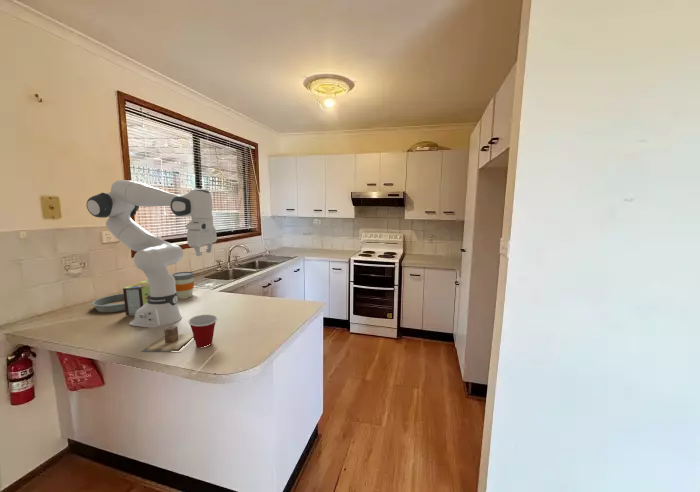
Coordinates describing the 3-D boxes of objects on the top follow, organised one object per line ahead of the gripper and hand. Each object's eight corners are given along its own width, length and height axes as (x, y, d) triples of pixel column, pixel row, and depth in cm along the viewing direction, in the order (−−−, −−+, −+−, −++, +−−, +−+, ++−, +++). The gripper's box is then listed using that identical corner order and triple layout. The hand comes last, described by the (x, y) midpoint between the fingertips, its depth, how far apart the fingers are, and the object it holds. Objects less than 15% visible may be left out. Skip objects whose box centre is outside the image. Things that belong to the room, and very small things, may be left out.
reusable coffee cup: (179, 300, 179) (177, 277, 177) (169, 296, 186) (167, 274, 183) (199, 295, 189) (197, 273, 187) (189, 292, 196) (187, 270, 194)
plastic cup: (202, 354, 115) (201, 325, 113) (184, 348, 119) (182, 321, 117) (224, 342, 125) (222, 316, 123) (206, 338, 129) (204, 312, 127)
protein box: (163, 306, 169) (161, 280, 166) (144, 316, 153) (141, 288, 151) (146, 306, 169) (143, 280, 167) (125, 316, 154) (122, 288, 151)
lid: (146, 350, 117) (144, 334, 116) (166, 336, 129) (165, 321, 128) (178, 351, 117) (176, 334, 116) (195, 336, 129) (194, 321, 128)
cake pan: (153, 304, 173) (153, 296, 172) (102, 317, 152) (101, 308, 151) (135, 296, 186) (135, 290, 185) (86, 307, 165) (85, 300, 164)
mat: (140, 352, 116) (140, 351, 116) (164, 336, 130) (164, 335, 130) (180, 353, 116) (180, 352, 116) (199, 336, 130) (199, 335, 130)
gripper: (206, 223, 142) (208, 250, 144) (183, 225, 122) (185, 257, 124) (219, 223, 142) (220, 250, 144) (198, 226, 122) (200, 258, 124)
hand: (204, 254), depth 134 cm, fingers open, 8 cm apart
